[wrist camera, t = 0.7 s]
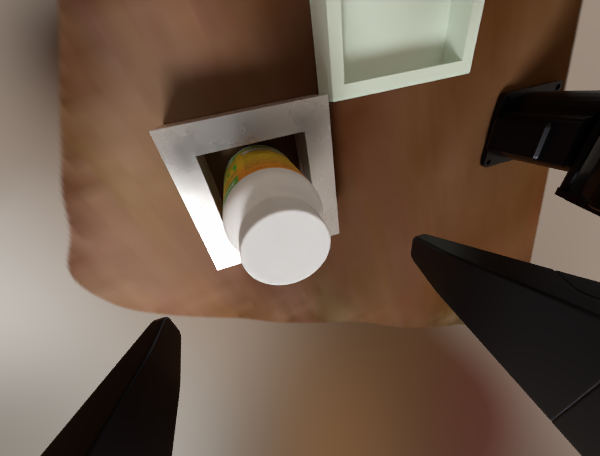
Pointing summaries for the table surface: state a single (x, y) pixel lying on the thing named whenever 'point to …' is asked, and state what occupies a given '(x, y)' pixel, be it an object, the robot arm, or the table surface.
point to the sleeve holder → (237, 132)
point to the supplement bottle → (273, 216)
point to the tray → (391, 43)
